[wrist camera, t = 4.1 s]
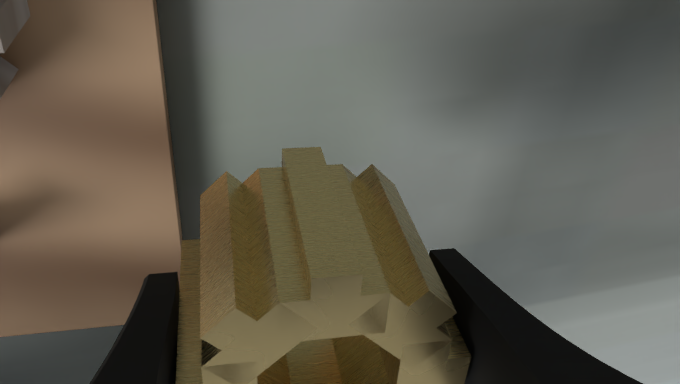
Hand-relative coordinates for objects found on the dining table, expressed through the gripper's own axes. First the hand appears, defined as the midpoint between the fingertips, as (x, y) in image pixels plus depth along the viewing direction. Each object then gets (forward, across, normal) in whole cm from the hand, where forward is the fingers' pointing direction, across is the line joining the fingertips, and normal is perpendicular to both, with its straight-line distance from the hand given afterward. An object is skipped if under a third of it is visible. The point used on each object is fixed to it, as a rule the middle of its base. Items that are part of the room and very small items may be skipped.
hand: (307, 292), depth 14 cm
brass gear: (+2, 0, 0) cm, 2 cm away
